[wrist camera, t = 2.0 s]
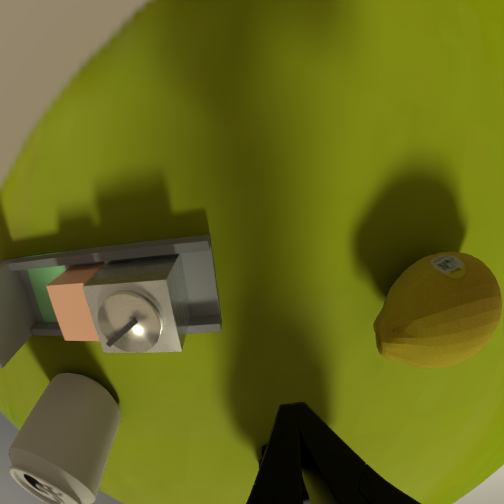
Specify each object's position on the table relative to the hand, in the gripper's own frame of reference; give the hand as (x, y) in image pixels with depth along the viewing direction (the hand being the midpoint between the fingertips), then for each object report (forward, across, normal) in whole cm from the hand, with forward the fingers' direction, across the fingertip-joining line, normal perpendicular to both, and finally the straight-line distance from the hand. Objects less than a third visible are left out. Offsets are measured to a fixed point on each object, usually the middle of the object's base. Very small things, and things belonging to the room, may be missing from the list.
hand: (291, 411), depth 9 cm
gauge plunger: (+12, +8, 0) cm, 14 cm away
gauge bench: (+12, +12, 0) cm, 17 cm away
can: (+12, +17, +11) cm, 24 cm away
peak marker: (+12, +12, 0) cm, 17 cm away
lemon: (+12, -12, +2) cm, 17 cm away
